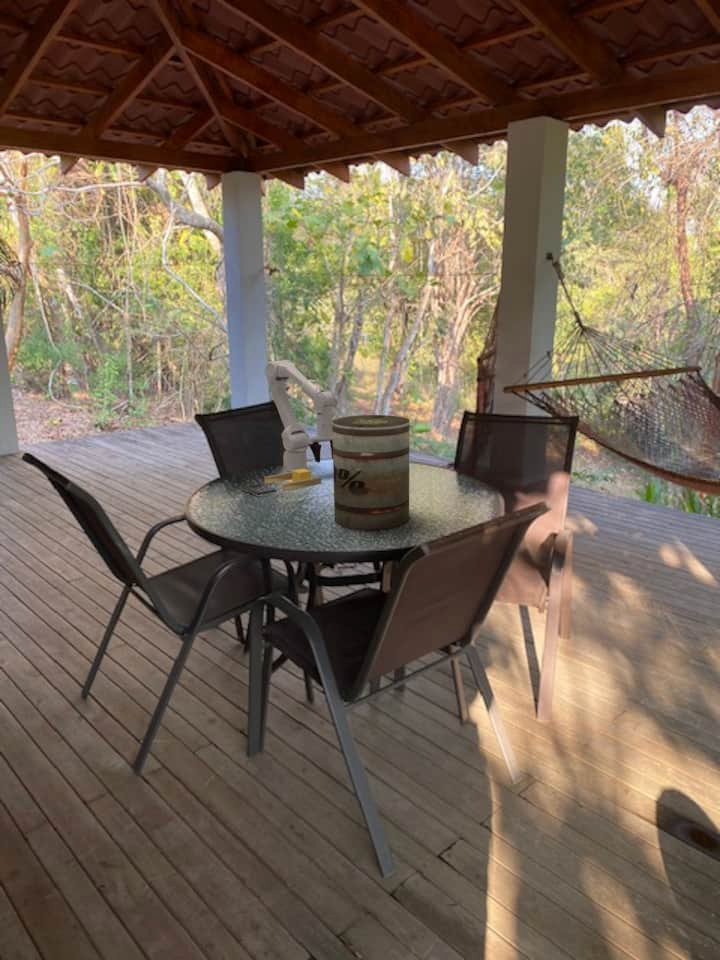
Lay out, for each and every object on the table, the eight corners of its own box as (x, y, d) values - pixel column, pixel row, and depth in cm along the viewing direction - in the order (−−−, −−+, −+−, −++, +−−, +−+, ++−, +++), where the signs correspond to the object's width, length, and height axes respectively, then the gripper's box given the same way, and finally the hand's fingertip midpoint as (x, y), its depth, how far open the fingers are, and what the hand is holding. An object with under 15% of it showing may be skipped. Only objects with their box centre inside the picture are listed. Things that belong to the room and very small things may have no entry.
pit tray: (242, 490, 235) (242, 487, 235) (259, 487, 239) (259, 483, 239) (258, 497, 227) (258, 493, 226) (275, 493, 231) (275, 489, 230)
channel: (264, 485, 242) (264, 477, 241) (299, 478, 251) (298, 470, 250) (285, 493, 231) (285, 484, 230) (321, 485, 240) (320, 477, 239)
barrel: (332, 510, 211) (330, 416, 203) (402, 507, 213) (402, 414, 205) (337, 533, 189) (334, 428, 181) (415, 529, 191) (415, 426, 184)
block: (292, 481, 244) (292, 470, 243) (303, 479, 247) (303, 468, 246) (300, 483, 240) (299, 473, 239) (311, 481, 243) (311, 470, 242)
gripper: (314, 428, 238) (316, 465, 241) (347, 423, 246) (348, 459, 250) (303, 425, 243) (305, 462, 246) (335, 421, 252) (336, 456, 255)
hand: (326, 460), depth 248 cm, fingers open, 7 cm apart
